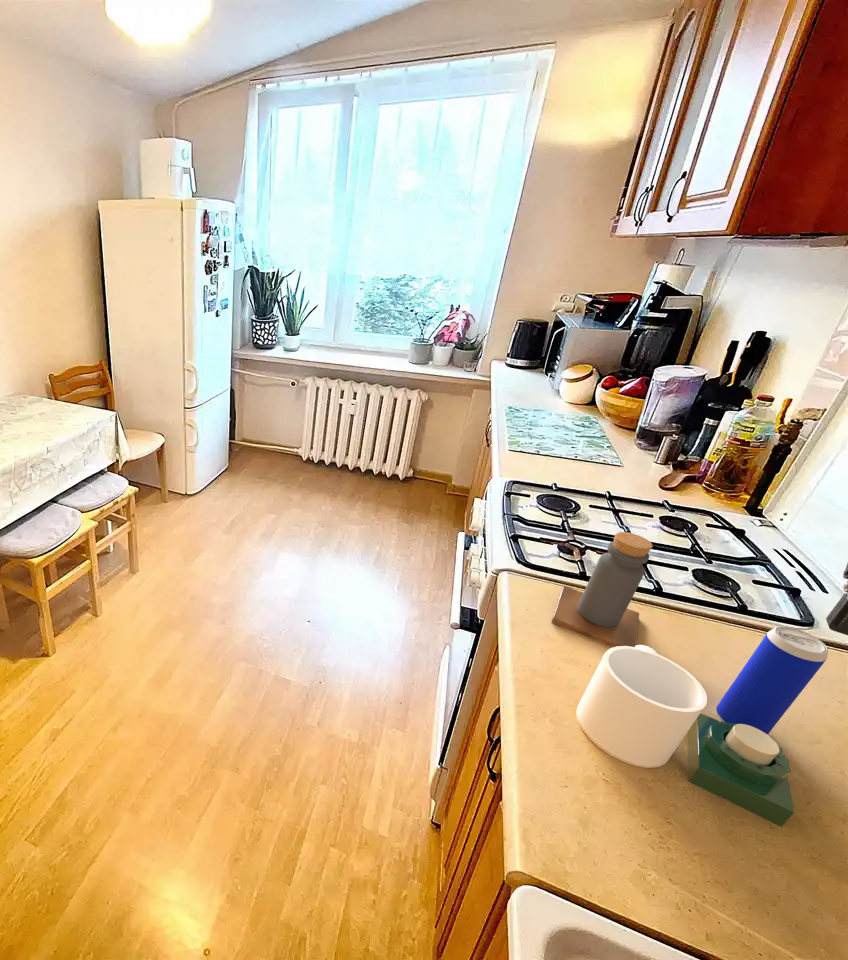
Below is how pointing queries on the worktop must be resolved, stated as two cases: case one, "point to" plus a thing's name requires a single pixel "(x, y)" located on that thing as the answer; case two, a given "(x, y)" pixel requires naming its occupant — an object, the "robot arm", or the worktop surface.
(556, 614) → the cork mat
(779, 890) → the worktop surface
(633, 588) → the bottle
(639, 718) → the mug
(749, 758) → the cream disc
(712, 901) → the worktop surface
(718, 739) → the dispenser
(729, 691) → the beverage can
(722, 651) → the worktop surface
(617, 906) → the worktop surface
